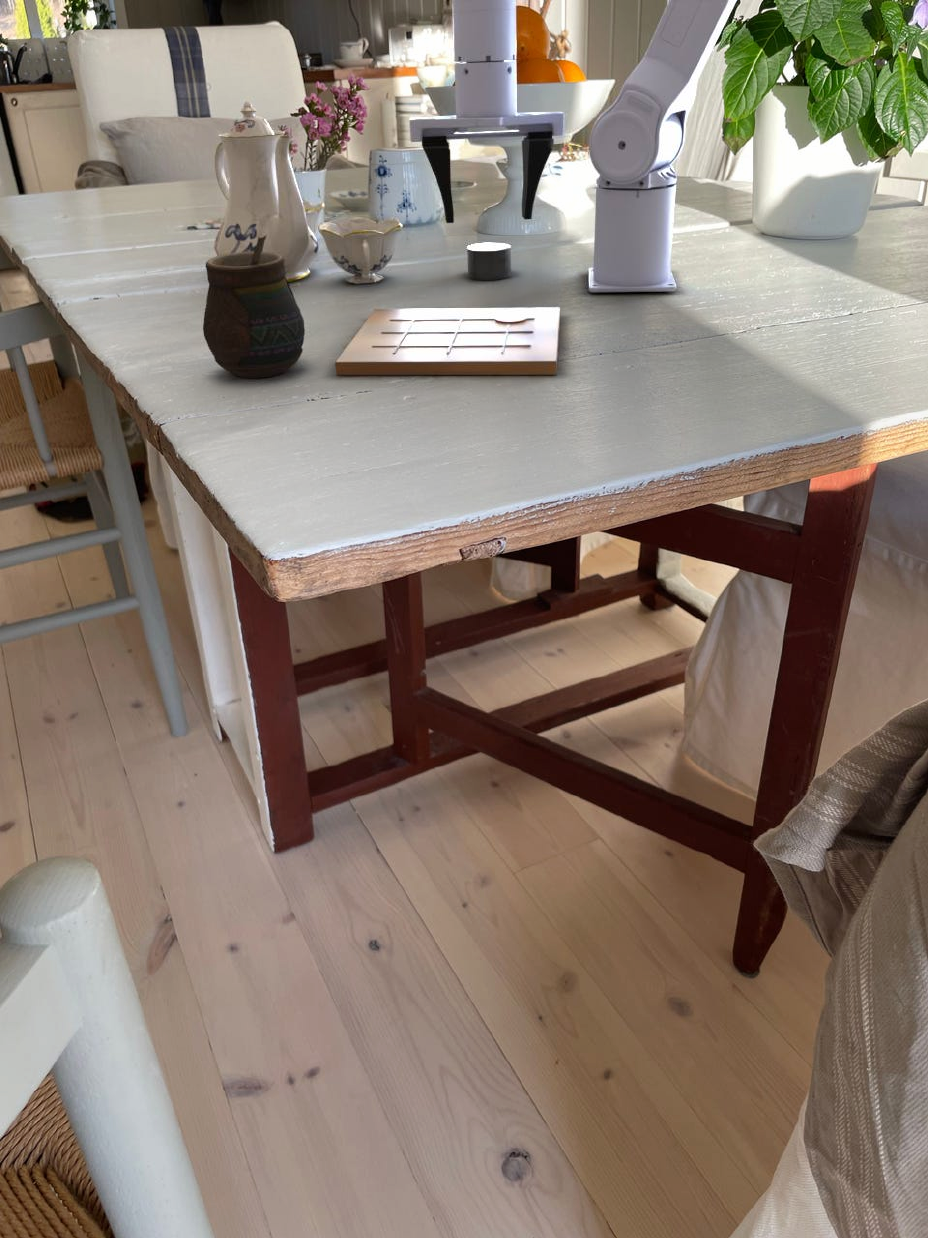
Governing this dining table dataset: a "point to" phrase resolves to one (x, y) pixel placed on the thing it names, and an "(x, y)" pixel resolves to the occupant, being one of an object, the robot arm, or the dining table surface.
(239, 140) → the chinaware
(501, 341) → the board
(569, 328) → the dining table surface
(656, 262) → the robot arm
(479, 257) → the short grey cylinder
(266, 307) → the mate gourd
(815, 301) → the dining table surface
